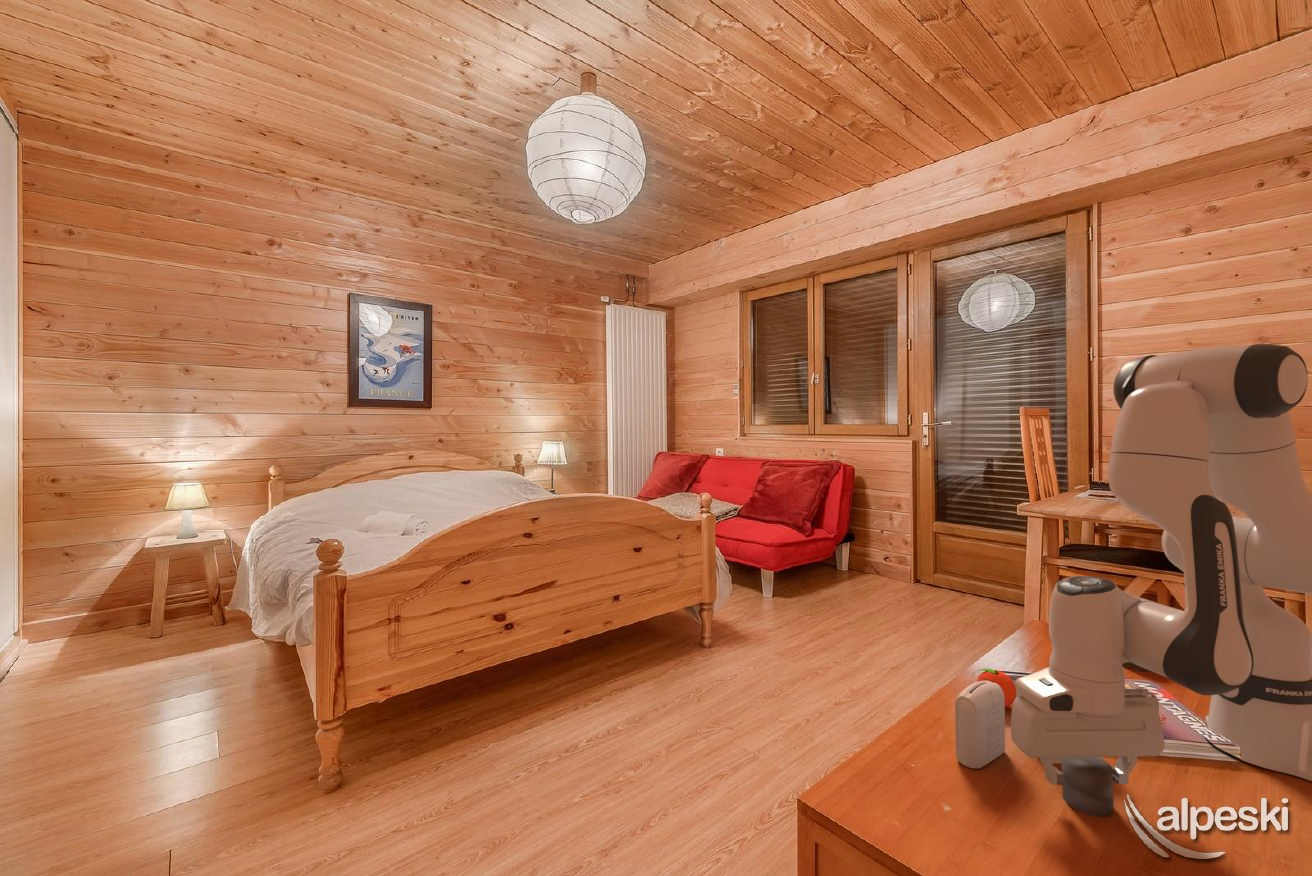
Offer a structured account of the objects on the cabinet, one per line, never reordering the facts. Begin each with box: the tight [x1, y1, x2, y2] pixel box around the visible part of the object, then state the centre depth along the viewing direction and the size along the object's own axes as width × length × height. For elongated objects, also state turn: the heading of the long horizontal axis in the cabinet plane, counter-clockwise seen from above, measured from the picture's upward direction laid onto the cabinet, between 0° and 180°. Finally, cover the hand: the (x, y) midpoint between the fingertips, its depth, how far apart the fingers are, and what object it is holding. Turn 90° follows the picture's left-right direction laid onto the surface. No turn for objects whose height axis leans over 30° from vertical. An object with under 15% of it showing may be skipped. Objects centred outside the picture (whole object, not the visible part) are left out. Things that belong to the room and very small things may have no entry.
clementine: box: [971, 668, 1016, 708], centre depth 112 cm, size 8×7×7 cm
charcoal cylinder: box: [1061, 757, 1115, 818], centre depth 83 cm, size 6×6×6 cm
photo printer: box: [954, 681, 1006, 770], centre depth 95 cm, size 10×4×12 cm, turn 123°
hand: (1086, 782), depth 82 cm, fingers open, 8 cm apart
